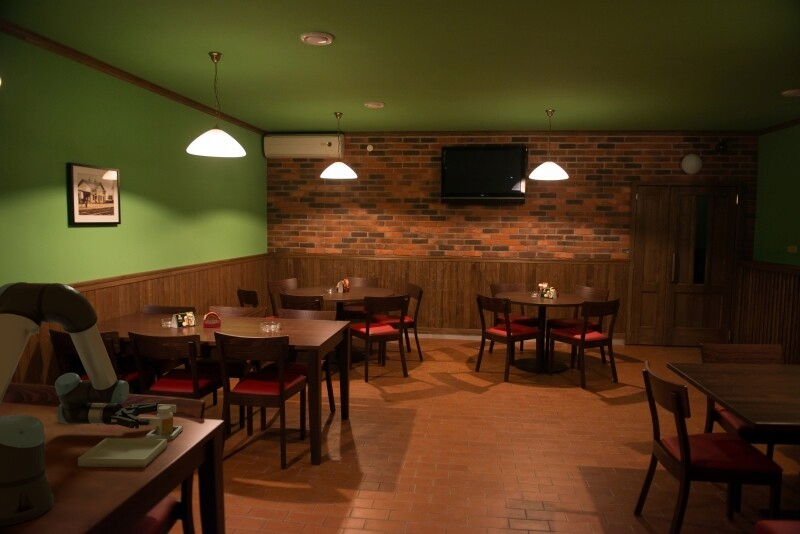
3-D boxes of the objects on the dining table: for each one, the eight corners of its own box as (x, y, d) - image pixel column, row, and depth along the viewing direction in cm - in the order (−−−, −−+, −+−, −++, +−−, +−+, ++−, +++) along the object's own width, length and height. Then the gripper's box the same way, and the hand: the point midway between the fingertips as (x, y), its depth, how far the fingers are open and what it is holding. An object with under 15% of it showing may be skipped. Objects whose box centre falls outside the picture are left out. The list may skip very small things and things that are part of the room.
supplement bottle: (176, 432, 193) (176, 405, 192) (167, 438, 187) (167, 410, 187) (162, 431, 193) (161, 404, 193) (153, 437, 188) (152, 409, 187)
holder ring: (172, 439, 186) (172, 435, 186) (145, 439, 186) (145, 435, 186) (182, 430, 195) (182, 426, 195) (157, 429, 195) (157, 425, 195)
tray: (145, 467, 165) (144, 459, 164) (78, 466, 164) (77, 458, 164) (167, 446, 180) (167, 439, 180) (106, 445, 180) (106, 437, 180)
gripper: (124, 412, 203) (181, 413, 203) (86, 437, 178) (152, 439, 178) (124, 392, 202) (181, 393, 203) (86, 414, 178) (152, 416, 178)
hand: (168, 415), depth 191 cm, fingers open, 13 cm apart
